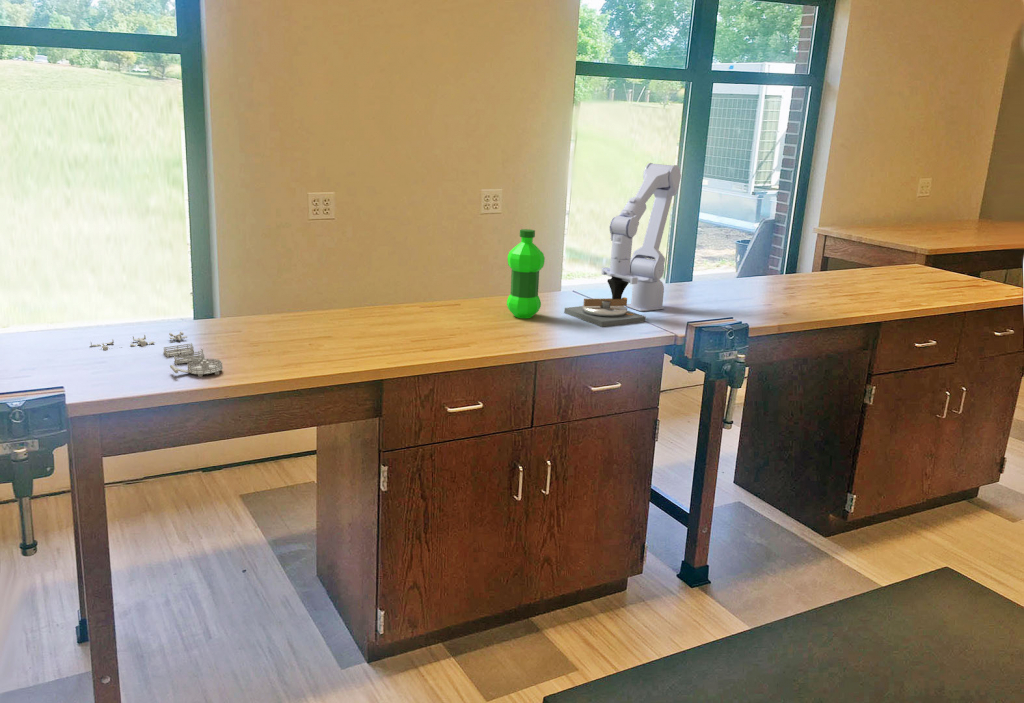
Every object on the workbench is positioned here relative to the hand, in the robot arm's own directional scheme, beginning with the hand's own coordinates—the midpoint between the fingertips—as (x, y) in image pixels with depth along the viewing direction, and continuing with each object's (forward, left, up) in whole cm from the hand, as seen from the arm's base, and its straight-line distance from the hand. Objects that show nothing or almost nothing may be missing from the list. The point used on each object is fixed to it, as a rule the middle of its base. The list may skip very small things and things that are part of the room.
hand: (616, 303), depth 259 cm
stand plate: (+4, 0, -4) cm, 6 cm away
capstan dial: (+4, 0, -2) cm, 5 cm away
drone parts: (+128, -7, -5) cm, 128 cm away
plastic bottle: (+26, -10, -4) cm, 28 cm away
